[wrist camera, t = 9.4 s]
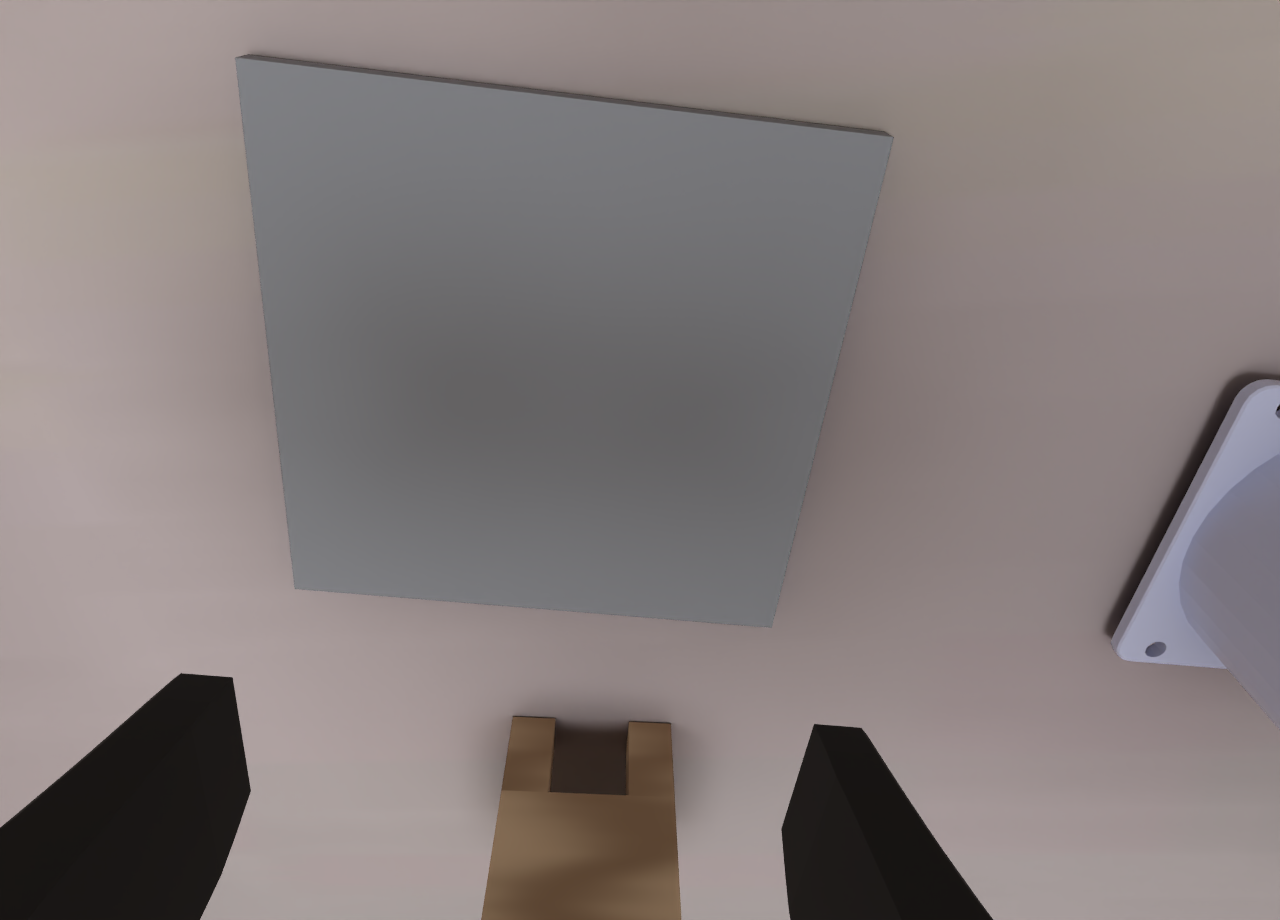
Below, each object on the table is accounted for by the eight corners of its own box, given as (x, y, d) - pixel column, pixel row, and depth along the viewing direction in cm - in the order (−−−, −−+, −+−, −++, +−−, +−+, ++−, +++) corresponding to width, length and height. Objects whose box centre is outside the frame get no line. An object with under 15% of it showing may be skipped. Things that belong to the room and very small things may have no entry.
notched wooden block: (670, 723, 24) (684, 973, 18) (657, 825, 27) (665, 1078, 21) (512, 716, 24) (474, 967, 18) (513, 820, 26) (478, 1073, 20)
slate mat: (885, 132, 16) (893, 137, 16) (768, 612, 22) (771, 627, 22) (248, 54, 16) (235, 57, 15) (302, 573, 22) (294, 588, 21)
